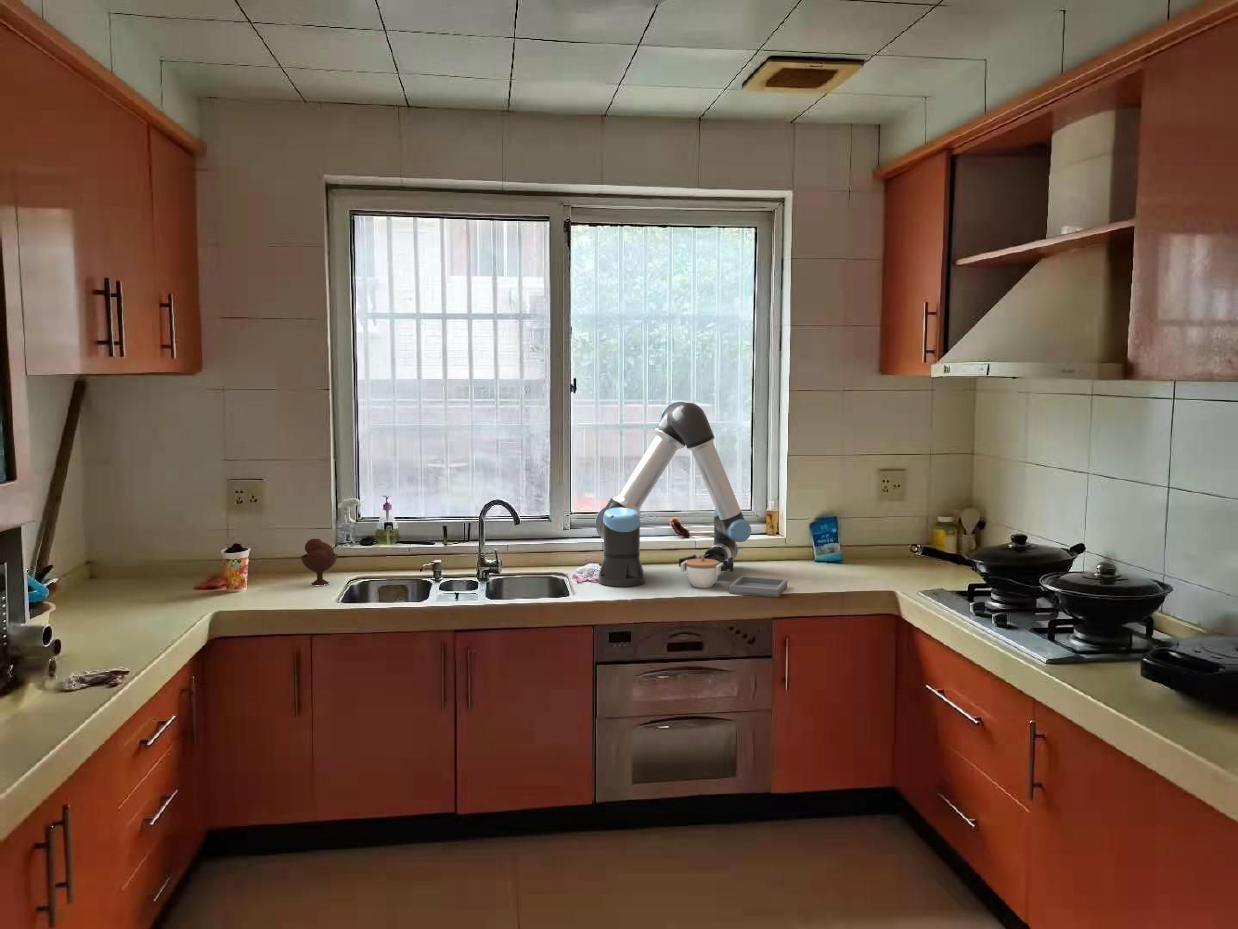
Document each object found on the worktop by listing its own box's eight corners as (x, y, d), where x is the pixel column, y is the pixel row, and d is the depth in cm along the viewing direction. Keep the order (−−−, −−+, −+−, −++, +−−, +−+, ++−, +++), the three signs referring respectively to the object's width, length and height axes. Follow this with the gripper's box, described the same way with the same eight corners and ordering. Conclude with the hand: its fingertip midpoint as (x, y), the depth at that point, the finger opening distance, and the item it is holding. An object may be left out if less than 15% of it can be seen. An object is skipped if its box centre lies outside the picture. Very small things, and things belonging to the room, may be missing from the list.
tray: (729, 593, 272) (729, 585, 272) (740, 583, 286) (740, 575, 286) (777, 597, 267) (778, 589, 267) (787, 587, 281) (787, 579, 281)
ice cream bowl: (324, 589, 279) (322, 541, 278) (294, 586, 282) (293, 540, 281) (344, 582, 289) (343, 536, 288) (316, 580, 292) (314, 534, 291)
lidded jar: (719, 582, 288) (719, 553, 287) (719, 590, 277) (720, 560, 277) (686, 581, 289) (686, 553, 288) (685, 589, 278) (685, 559, 278)
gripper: (751, 570, 295) (735, 584, 275) (684, 565, 304) (663, 578, 283) (751, 548, 295) (735, 560, 274) (684, 543, 303) (664, 555, 283)
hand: (699, 569), depth 279 cm, fingers closed on lidded jar, 11 cm apart
